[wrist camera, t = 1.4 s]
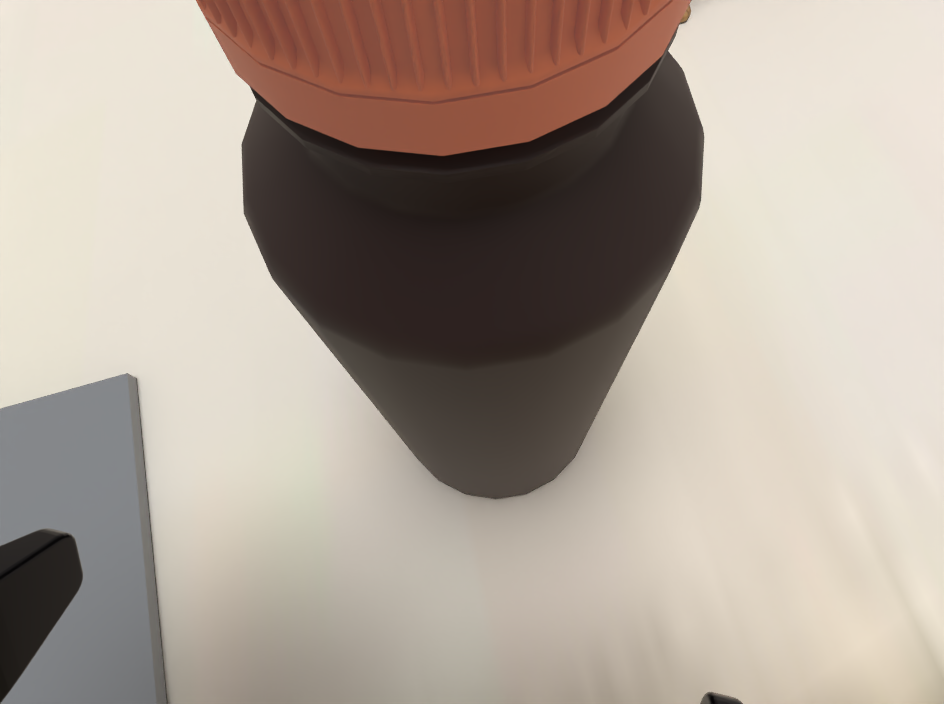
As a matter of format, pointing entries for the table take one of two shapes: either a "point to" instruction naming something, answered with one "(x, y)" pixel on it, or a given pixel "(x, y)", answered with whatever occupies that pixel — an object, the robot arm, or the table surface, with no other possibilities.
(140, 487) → the slate coaster
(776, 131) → the table surface
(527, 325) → the vinegar
